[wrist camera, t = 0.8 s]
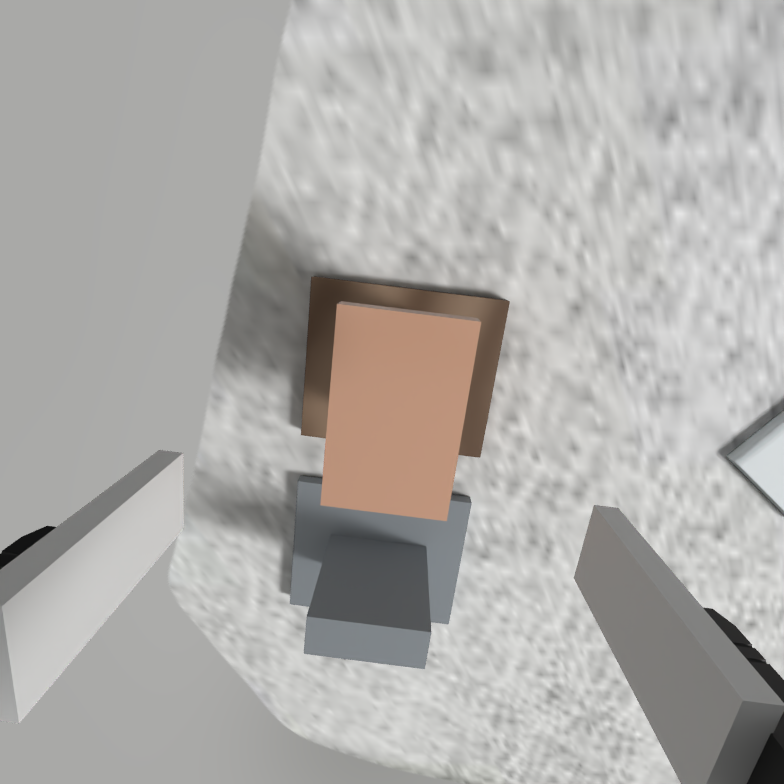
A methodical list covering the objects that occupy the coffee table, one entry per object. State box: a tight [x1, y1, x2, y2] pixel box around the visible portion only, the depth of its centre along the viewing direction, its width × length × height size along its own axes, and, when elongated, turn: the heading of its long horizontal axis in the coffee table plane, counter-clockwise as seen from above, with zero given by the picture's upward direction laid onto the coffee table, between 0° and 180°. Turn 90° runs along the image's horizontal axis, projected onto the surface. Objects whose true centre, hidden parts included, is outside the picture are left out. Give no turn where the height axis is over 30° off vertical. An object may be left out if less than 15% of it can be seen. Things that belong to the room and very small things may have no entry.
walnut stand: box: [301, 276, 510, 457], centre depth 30 cm, size 14×12×10 cm
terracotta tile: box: [320, 301, 481, 521], centre depth 24 cm, size 7×11×2 cm, turn 173°
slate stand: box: [290, 476, 471, 669], centre depth 34 cm, size 14×12×10 cm
